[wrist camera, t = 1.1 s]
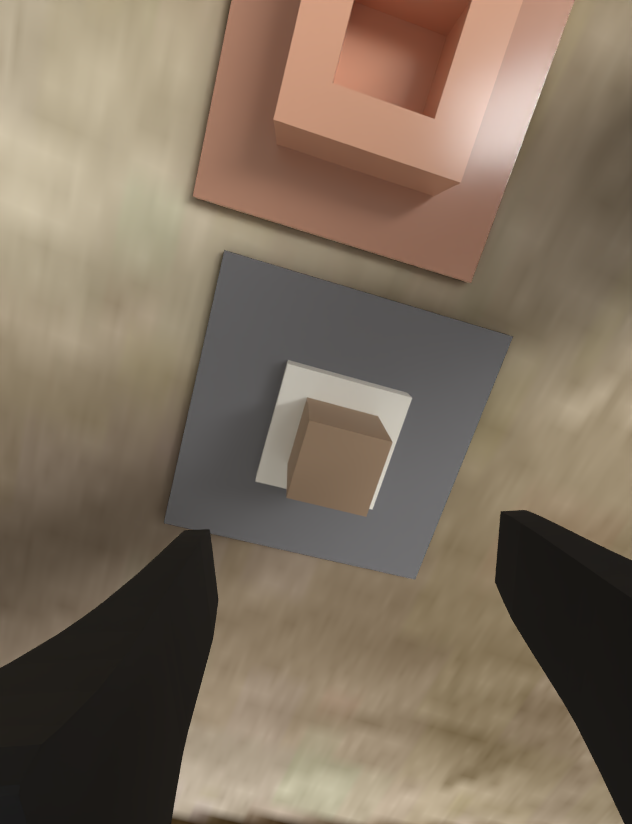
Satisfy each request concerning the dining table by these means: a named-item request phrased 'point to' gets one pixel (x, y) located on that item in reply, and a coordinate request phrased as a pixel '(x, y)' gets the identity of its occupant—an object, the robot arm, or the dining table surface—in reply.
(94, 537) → the dining table surface
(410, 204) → the salmon stepped square block
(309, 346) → the mat
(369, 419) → the lid
